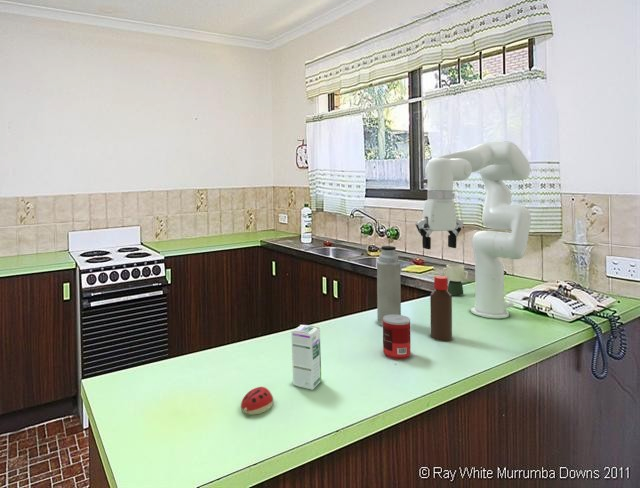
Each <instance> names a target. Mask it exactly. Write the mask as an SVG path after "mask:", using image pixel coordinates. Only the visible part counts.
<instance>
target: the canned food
mask: <svg viewBox="0 0 640 488" xmlns="http://www.w3.org/2000/svg"><path fill="white" fill-rule="evenodd" d="M382 351H383V355H384V356H385V357H387V358H389V359H392V360H407V359H408V358H409V357H410V356H411V319H410V318H409V317H408V316H406V315H403V314H401V315H395V314H392V315H386V316H384V317H383V326H382Z"/></svg>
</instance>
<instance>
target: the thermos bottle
mask: <svg viewBox="0 0 640 488" xmlns="http://www.w3.org/2000/svg"><path fill="white" fill-rule="evenodd" d="M396 249H397V248H396V246H393V245H382V246H381V252H380V253H381V254H379V255H378V260H377V261H376V295H377V296H376V298H377V299H376V300H377V301H376V302H377V304H376V305H377V306H376V307H377V308H376V309H377V324H378V325H379V326H381V327H383V317H384V316H386V315H392V314H395V315H402V314H401V313H402V307H401V306H402V301H401V299H402V297H401V295H402V293H401V288H402V287H401V262H400V261H399V255H398V254H396V253H397V252H396Z"/></svg>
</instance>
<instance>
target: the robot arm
mask: <svg viewBox="0 0 640 488" xmlns="http://www.w3.org/2000/svg"><path fill="white" fill-rule="evenodd" d="M424 171H425V175H426V177H427V199H425V200H424V203H423V209H422V217H421V219H420V220H418V221H416V222H415V227H416V229H417V232H418V233H419V234H420V236H421V237H422V239H421V241H422V248H423V249H426V250H431V249H432V238H431V234H432V233H433V232H447V233H448V236H447V248H451V249H457V239H458V238H457V237H459V234H460V232H461V231H462V229H463V226H464V222H463V221H461V220H460V219H459V218H457V210H456V205H455V204H456V203H455V200H453V199H454V198H453V197H455V195H456V194H455V192H453V190H454V189H453V188H454V187H453V186H454V185H453V184H454V183H453V182H461V181H465V180H467V179H469V178H470V176H471V175H472V173H477V172H479V174H480V178H481V179H482V182H483V185H484V187H485V193H486V195H485V200H484V205H483V210H482V214H481V215H482V216H481V223H482V225H483V226H484V227H486V228H489V229H493V230H479V231H477V232H475V233H474V234H473V236H472V239H471V242H472V243H471V245H472V249H473V254H474V272H475V273H474V276H475V277H474V278H475V279H474V280H475V282H474V284H475V286H474V287H475V288H474V290H475V291H474V294H475V295H474V297H475V298H474V299H475V300H474V301H475V303H474V304H475V305H474V306H472V307H471V308H470V312H471V313H472V314H473V315H475V316H478V317H482V318H488V319H506V318H508V317H510V313H509V311H508V310H507V309H510V308H514V303H513V301H509V302H508V301H507V302H506V301H505V268H504V266H503V263H502V262H501V261H500V259H499V258H501V259H508V260H509V259H510V260H520V259H522V258H523V257H524V256H525V254H526V251H527V247H528V246H527V245H528V241H529V235H530V230H531V223H532V216H531V212H530V210H529V209H528V208H527V207H526V206H524V205H521V204H511V203H512V196H513V194H512V191H511V189H510V188H509V187H508V185H507V184H506V183H505V182H504V181H522V180H526V179H527V178H528V177H529V176H530V173H531V163H530V162H529V160H528V158H527V157H526V155H525V154H524V153H523V151H522V149H520V147H519V146H518V145H517V144H515V143H514V142H512V141H509V140H507V141H506V140H505V141H504V140H503V141H489V142H488V141H487V142H483V143H480V144H477V145H475V146H472V147H470V148H468V149H463V150H458V151H454V152H451V153H446V154H443V155H439V156H436V157H434V158H431V159H429V160H428V162H427V163H426V165H425V170H424ZM498 230H503V231H498ZM507 231H511V232H507Z"/></svg>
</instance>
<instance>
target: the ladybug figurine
mask: <svg viewBox="0 0 640 488" xmlns="http://www.w3.org/2000/svg"><path fill="white" fill-rule="evenodd" d="M273 404H274V396H273V394H272V391H270V389H269V388H267V387H265V386H257V387H255V388H252V389H251V390H249V391H248V392H247V393H246V394H245V395H244V396H243V397H242V400H241V403H240V410H241V411H242V413H244V414H246V415H251V416H253V415H259V414H262V413H264V412H266V411H268V410H269V409H270V408H271V407H272V406H273Z"/></svg>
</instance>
